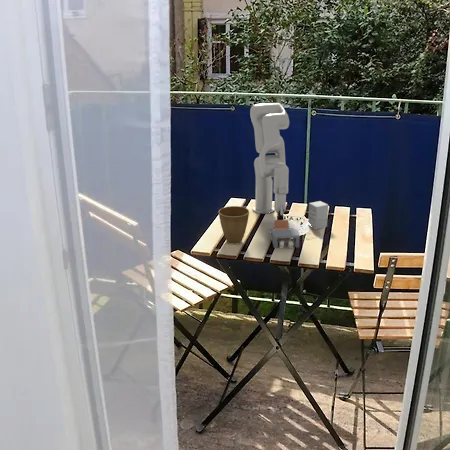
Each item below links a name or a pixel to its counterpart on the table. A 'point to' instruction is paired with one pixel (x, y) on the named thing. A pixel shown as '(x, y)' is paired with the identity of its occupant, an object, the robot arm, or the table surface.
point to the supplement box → (318, 214)
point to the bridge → (285, 234)
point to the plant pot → (234, 223)
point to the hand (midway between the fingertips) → (280, 223)
